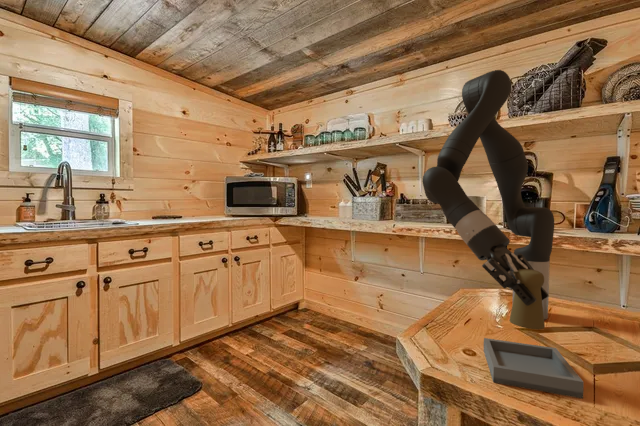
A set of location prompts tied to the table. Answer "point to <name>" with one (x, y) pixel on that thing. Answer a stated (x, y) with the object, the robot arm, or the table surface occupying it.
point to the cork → (534, 312)
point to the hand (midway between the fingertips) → (538, 300)
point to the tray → (531, 367)
